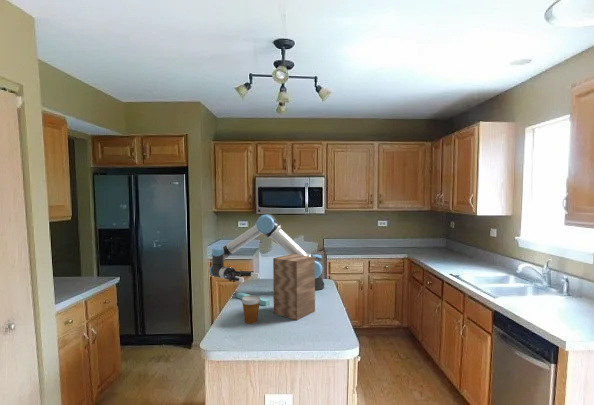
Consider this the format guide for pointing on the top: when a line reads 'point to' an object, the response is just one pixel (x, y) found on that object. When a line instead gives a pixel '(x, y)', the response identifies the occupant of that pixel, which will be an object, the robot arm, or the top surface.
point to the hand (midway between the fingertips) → (251, 278)
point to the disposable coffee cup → (251, 308)
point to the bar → (262, 301)
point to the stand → (294, 286)
